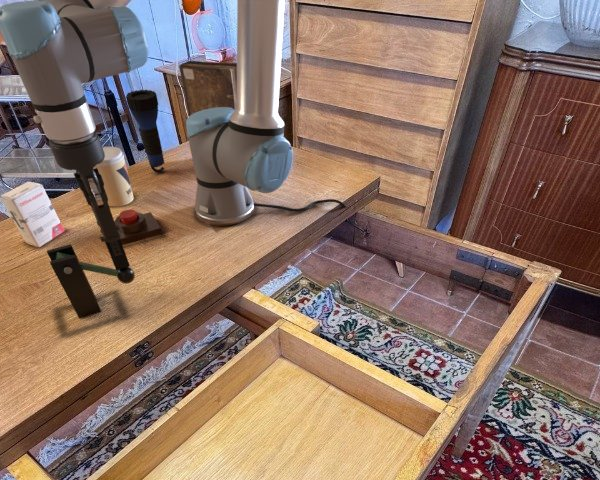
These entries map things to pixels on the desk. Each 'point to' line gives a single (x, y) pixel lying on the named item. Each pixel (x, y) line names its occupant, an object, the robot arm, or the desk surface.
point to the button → (128, 216)
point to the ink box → (33, 213)
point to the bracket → (74, 281)
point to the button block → (138, 228)
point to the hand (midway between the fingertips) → (122, 266)
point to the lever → (105, 270)
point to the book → (209, 85)
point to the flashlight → (147, 124)
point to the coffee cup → (115, 177)
